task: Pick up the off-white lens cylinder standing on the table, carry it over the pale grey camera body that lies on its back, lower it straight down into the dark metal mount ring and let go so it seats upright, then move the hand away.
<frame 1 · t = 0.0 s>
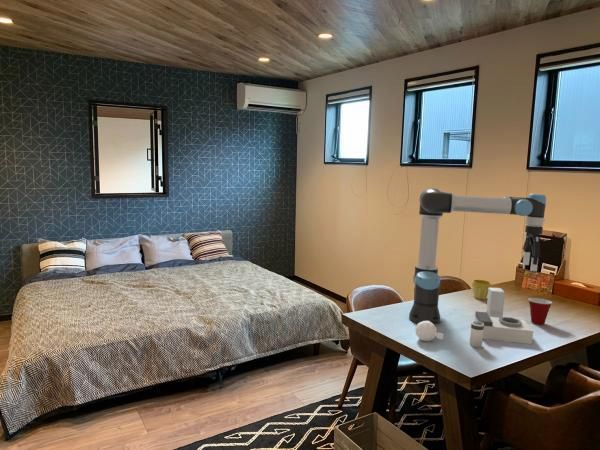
hand: (529, 267, 223), 28 cm above the table, fingers open, 13 cm apart
lens: (475, 345, 195), on the table
perfume bottle: (428, 341, 197), on the table
plant pot: (480, 297, 267), on the table
camera body: (501, 335, 208), on the table
skincare box: (493, 319, 230), on the table
plastic cup: (537, 323, 227), on the table
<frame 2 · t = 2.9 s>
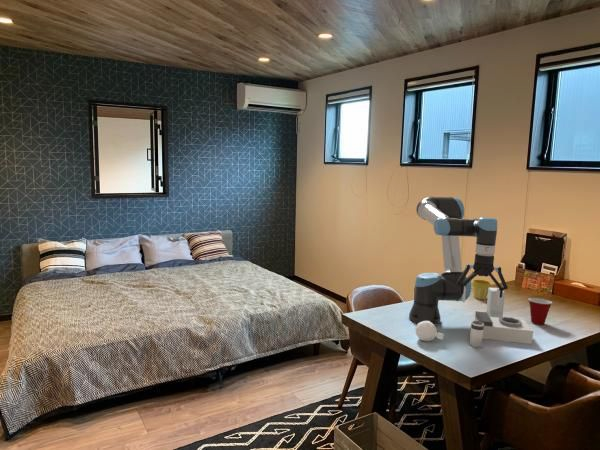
hand: (480, 303, 192), 19 cm above the table, fingers open, 13 cm apart
nothing on the table moved.
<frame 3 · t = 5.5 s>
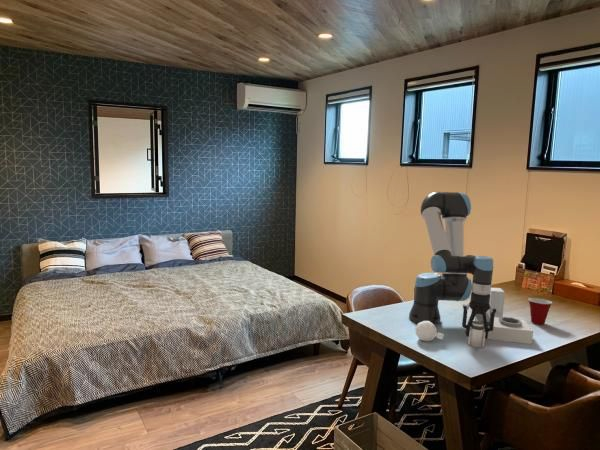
hand: (475, 344, 195), 0 cm above the table, fingers closed on lens, 5 cm apart
lens: (475, 345, 195), on the table, touching gripper
everything else where it was.
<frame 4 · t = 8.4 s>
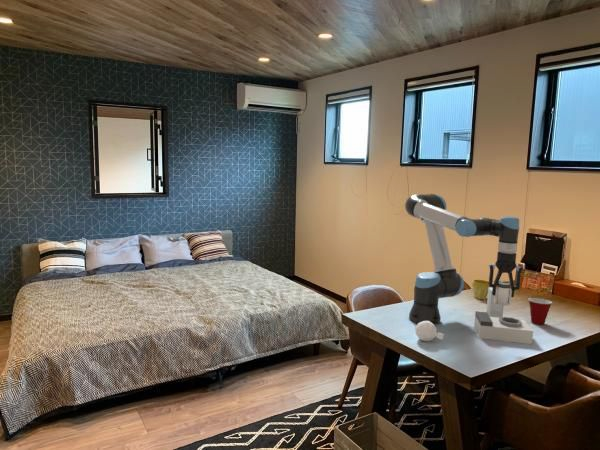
hand: (502, 303, 200), 17 cm above the table, fingers closed on lens, 5 cm apart
lens: (501, 303, 200), point 17 cm above the table, touching gripper
everything else where it was.
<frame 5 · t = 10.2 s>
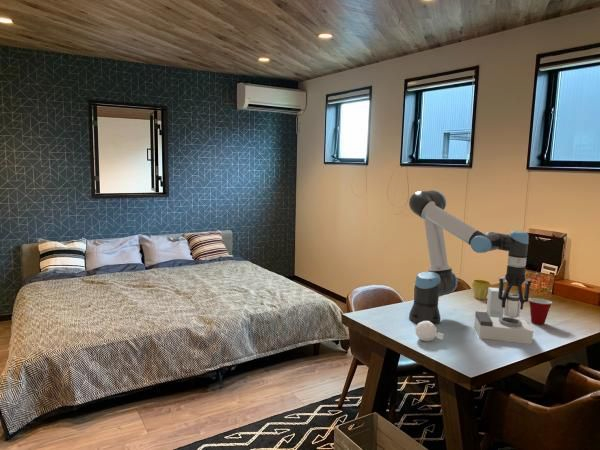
hand: (511, 315, 206), 10 cm above the table, fingers closed on lens, 5 cm apart
lens: (511, 315, 206), point 10 cm above the table, touching gripper
everything else where it was.
when the fingers open (9 cm above the table, at t = 11.4 s): lens drops 2 cm, resting on camera body.
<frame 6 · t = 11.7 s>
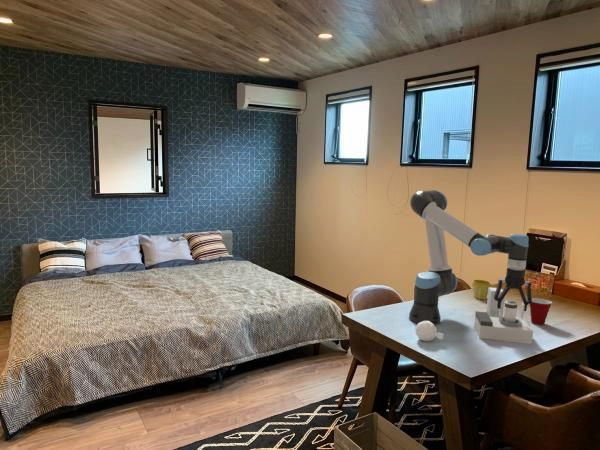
hand: (510, 316, 206), 9 cm above the table, fingers open, 8 cm apart
lens: (509, 323, 206), point 6 cm above the table, touching camera body
everything else where it was.
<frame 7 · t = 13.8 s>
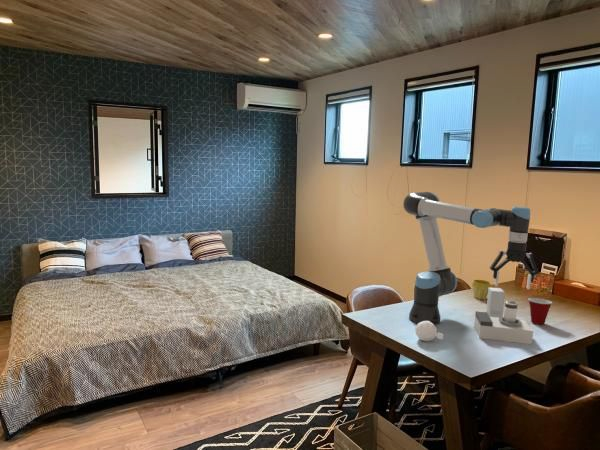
hand: (511, 287, 205), 23 cm above the table, fingers open, 13 cm apart
nothing on the table moved.
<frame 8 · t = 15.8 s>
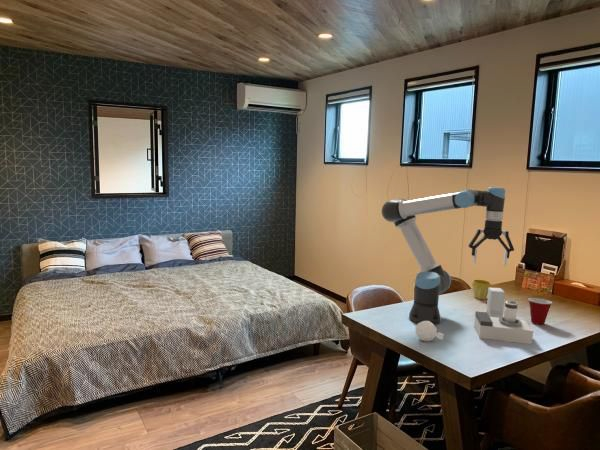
hand: (489, 263, 216), 31 cm above the table, fingers open, 13 cm apart
nothing on the table moved.
at the end: lens 0.3 cm from the target spot on the camera body, point 6.1 cm above the camera body's base; lens tilted 0°; the gripper is holding nothing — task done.
